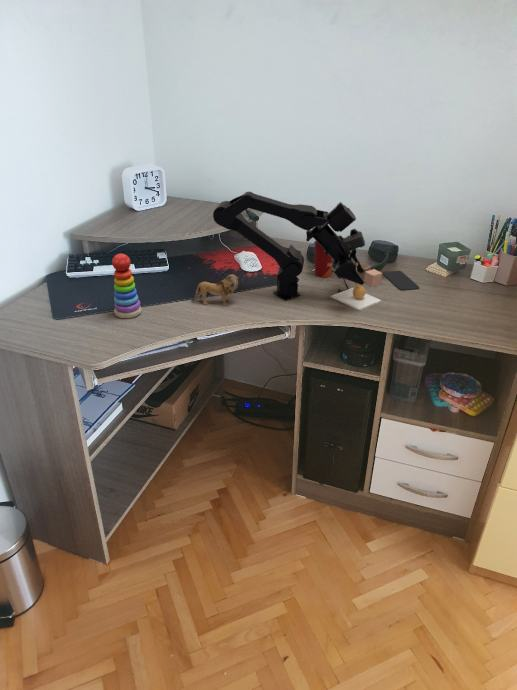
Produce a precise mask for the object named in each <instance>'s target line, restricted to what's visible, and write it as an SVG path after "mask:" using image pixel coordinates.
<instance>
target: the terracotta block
mask: <svg viewBox="0 0 517 690" xmlns="http://www.w3.org/2000/svg"><path fill="white" fill-rule="evenodd" d="M382 273H383V272H381V271H379V270H377V269H375V268H373V269H371V270H369V271H365V277H364V280H363V281H364V284H366V285H368V286H370V287H376V286H378V285H382V278H383V275H382Z"/></svg>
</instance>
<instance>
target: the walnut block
mask: <svg viewBox="0 0 517 690" xmlns="http://www.w3.org/2000/svg"><path fill="white" fill-rule="evenodd" d="M360 264H361V266H362V268H363V270H364V272H363V273H360V272H358V271H357V272H358V273H359V275H360V276H361V278H362V279H363V281H364V277H365V271H369V270H372V265H367V264H364V263H360Z"/></svg>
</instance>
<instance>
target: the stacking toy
mask: <svg viewBox="0 0 517 690" xmlns="http://www.w3.org/2000/svg"><path fill="white" fill-rule="evenodd" d="M111 264H112V267H113V269H114V272H113V276H114V281H113V282H114V284H113V288H114V291H113V294H114V296H113V297H114V298H113V301H114V309H113V312H114V314H115V316H116V317H118V318H121V319H132V318H135V317H137V316H139V315H140V314H141V312H142V306H141V301H140V299H139V295H138V294H137V293H138V291H137V289H136V283H135V277H134V276H133V275H132V272H133V271H132V269H130V267H131V259H130V257H129V256H128V255H126V254H124V253H117V254H115V255H114V256H113V258H112V260H111Z"/></svg>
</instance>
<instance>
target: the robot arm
mask: <svg viewBox="0 0 517 690" xmlns="http://www.w3.org/2000/svg"><path fill="white" fill-rule="evenodd" d="M248 209H251V210H255V211H256V212H257V211H258V212H261V213H264V214H268V215H271V216H274V217H278V218H281V219H284V220H287V221H289V222H290V223H291V224H293V225H294V226H296V227H298V228H299V229H301V230H304V231H305V232H306V238H305V240H306V242H309V241H310V240H311V239H315V240H316V241H317V242H318V243H319V245H320V246H321V247H322V248H323V249H324V250H325V251H324V253H325V254H326V255H327V254H329V255H330V257H331V258H332V259H333V265H335V268H334V269H335V270H334V271H335V272H334V275H335V276H336V277H337V278H338V279H344V280H348V281H350V282H353V283H355V284H356V283H358V285H360V286H362V285H364V284H365V283H364V280H363V279H362V278H361V276H360V275H359V273H358V272H360V273H363V272H364V270H363V268H362V266H361V264H362V263H361V262H360V260H359V259H358V257H357V249H358V248H363V247H365V246H366V241H365V238H364V236H363V233H362V231H361V230H360V231H358V230H357V229H356V228H352V229H350V232H349V235H347V236H346V237H343V236H342V235H338V234H337V233H339V232H340V233H341V232H343V231H344V230H345V229H347V228H348V227H349V226H350V225H351V224H353V223H354V222H355V221H356V220H357V217H356V215H355V213H354V212H353V211H352V210H351V208H350V207H348V206H346V205H345V204H343V203H342V201H340V202H339V203H337V204H336V206H335V207H333V209H332V210H330V211H326V210H321V209H317V208H316V207H315V206H313V205H309V204H308V205H307V204H292V203H291V204H290V203H286V202H283V201H280V200H277V199H273V198H270V197H267V196H263V195H259V194H256V193H253V191H245V192H244V193H243V194H242V195H238V196H237V197H235V198H233V199H231V200H224V201H221V202H220V203H219V204H218V205H217V206H216V207H215V209H214V210H213V213H212V214H213V215H212V217H213V221H214V223H216V225H218V226H219V227H222V228H223V229H226V230H228V231H233V232H236V233H238V234H239V235H241V236H242V237H244V238H245V239H246V240H248V241H249V242H250V243H252V244H253V245H254V246H256V247H257V248H258V249H260V250H262V251H263V252H264V253H265V254H267V255H268V256H270V257H271V258H272V259H273V260H275V262H276V263H277V265H278V266H279V268H278V271H277V275H276V290H275V291H273V292H272V293H273V295H274V296H275V297H276V296H277V297H278V298H281V299H282V300H284V301H288V300H291V299H294V298H296V297H297V298H298V297H300V296H301V293H300V292H299V290H298V289H299V283H298V281H299V280H298V278H297V277H298V276H300V275H301V274H302V272H303V268H304V265H305V264H304V263H305V259H304V256H303V254H302V251H301V250H299V249H296V248H295V247H294V245H292V244H290V245H289V247H286V246H283V245H281V244H280V243H278V242H277V241H276V240H275V239H273V238H271V237H270V236H269V235H267V234H266V233H264V232H263V231H262V230H261V229H259V228H258V227H256V226H255V225H254V224H252V223H251V222H250V221H248V220H247V219H246V218H245V217H244V215H243V214H242V213H243V212H244V211H246V210H248ZM336 232H337V233H336ZM315 240H314V241H315ZM355 262H357V263H358V266H357V270H356V263H355ZM357 271H358V272H357Z"/></svg>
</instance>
